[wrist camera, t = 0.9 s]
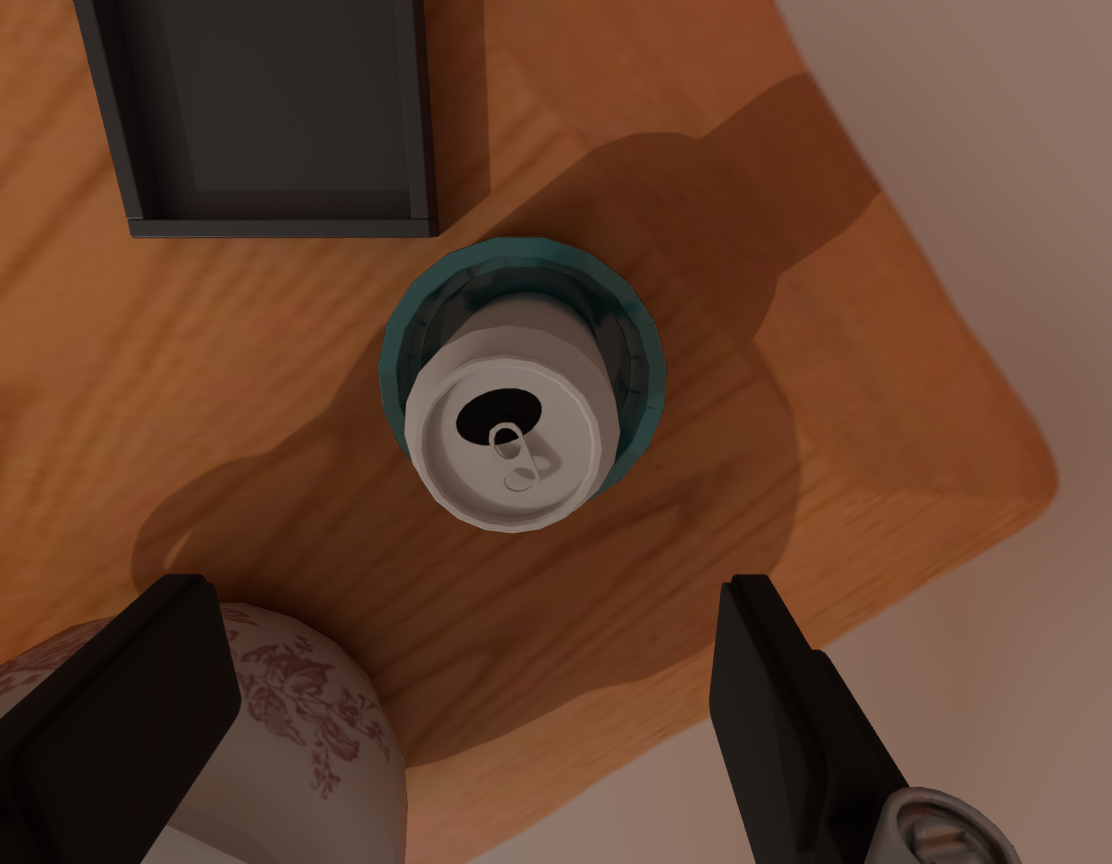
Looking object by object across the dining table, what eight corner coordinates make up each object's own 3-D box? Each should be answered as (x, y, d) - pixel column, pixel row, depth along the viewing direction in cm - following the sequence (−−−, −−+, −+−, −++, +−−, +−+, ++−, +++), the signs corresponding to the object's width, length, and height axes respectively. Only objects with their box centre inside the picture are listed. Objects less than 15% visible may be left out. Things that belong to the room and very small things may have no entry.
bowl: (396, 234, 28) (362, 237, 23) (656, 233, 28) (675, 236, 23) (418, 471, 32) (394, 514, 27) (643, 472, 32) (657, 515, 27)
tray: (79, -119, 23) (35, -150, 21) (415, -121, 23) (401, -152, 21) (161, 236, 28) (130, 238, 26) (439, 236, 28) (430, 237, 26)
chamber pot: (547, 723, 39) (532, 1235, 19) (277, 891, 45) (60, 1405, 25) (217, 419, 31) (-351, 749, 12) (-50, 670, 37) (-708, 1156, 18)
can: (574, 267, 28) (583, 300, 17) (618, 407, 30) (652, 517, 19) (432, 317, 29) (349, 380, 18) (486, 448, 31) (444, 578, 20)
